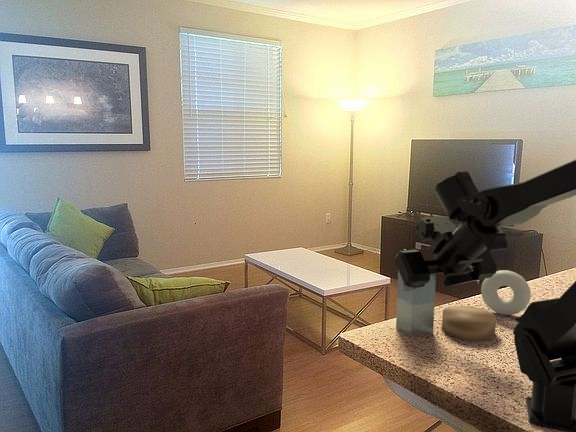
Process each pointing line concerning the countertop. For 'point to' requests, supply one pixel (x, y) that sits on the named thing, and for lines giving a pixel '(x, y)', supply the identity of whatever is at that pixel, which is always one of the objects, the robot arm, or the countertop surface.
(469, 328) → the pedestal
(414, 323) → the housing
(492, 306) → the donut
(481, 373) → the countertop surface
